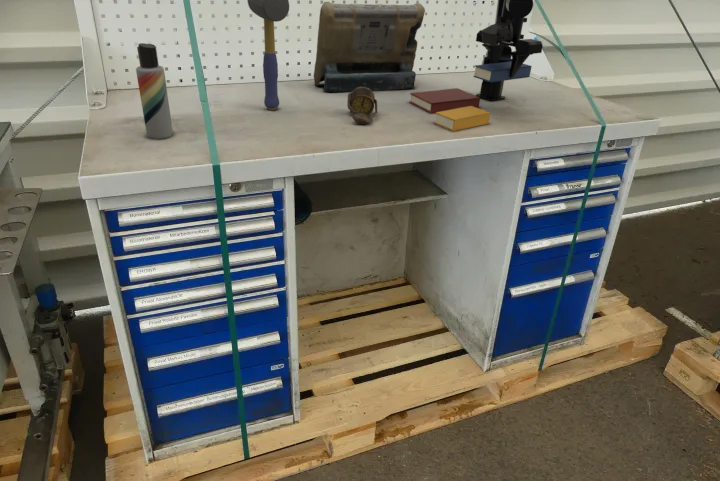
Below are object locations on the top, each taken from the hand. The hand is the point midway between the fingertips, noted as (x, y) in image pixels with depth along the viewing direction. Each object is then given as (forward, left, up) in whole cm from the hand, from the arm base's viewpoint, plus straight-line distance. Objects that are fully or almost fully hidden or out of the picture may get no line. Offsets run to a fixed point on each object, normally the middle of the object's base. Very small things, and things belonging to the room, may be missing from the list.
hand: (502, 74), depth 143 cm
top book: (+16, +2, -11) cm, 19 cm away
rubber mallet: (+54, -32, -11) cm, 63 cm away
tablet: (+16, -40, -11) cm, 44 cm away
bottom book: (+8, -13, -11) cm, 18 cm away
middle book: (0, 0, -1) cm, 1 cm away
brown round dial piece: (+37, -15, -11) cm, 41 cm away
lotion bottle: (+86, -26, -11) cm, 90 cm away
